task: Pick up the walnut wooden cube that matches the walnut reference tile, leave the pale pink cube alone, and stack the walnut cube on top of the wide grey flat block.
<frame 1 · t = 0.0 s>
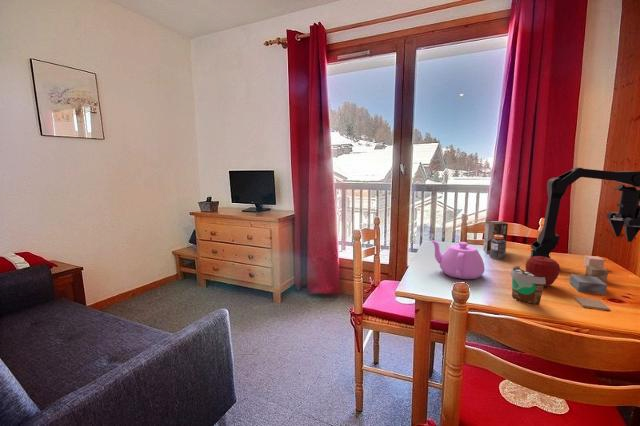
hand: (623, 239, 127), 15 cm above the table, tool pointing down, fingers open, 9 cm apart
coffee box: (493, 252, 159), on the table
pill bottle: (496, 258, 150), on the table
pink pot: (455, 273, 130), on the table
reference tile: (591, 304, 101), on the table
apple: (540, 285, 117), on the table
pale pink cube: (592, 268, 135), on the table
grey flat block: (586, 289, 113), on the table
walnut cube: (595, 279, 122), on the table
food container: (520, 299, 105), on the table
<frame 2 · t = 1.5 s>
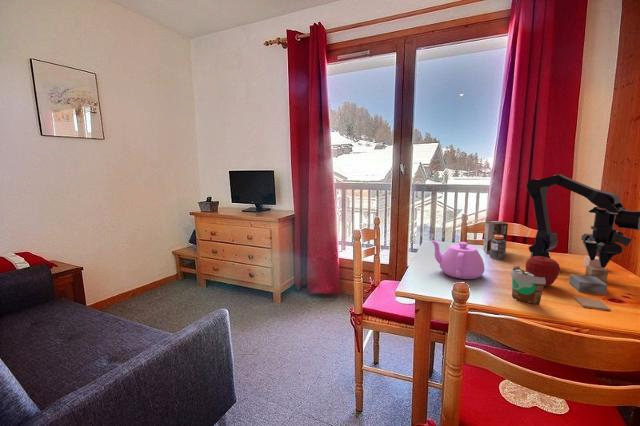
hand: (597, 263, 121), 7 cm above the table, tool pointing down, fingers open, 9 cm apart
nothing on the table moved.
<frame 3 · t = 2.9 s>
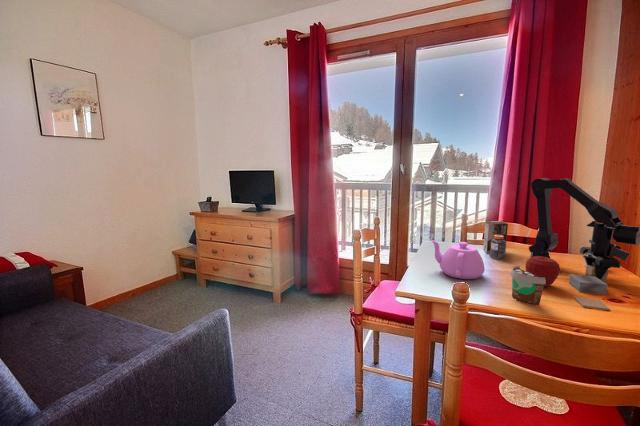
hand: (595, 277, 122), 1 cm above the table, tool pointing down, fingers closed on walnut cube, 5 cm apart
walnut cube: (595, 279, 122), on the table, touching gripper
everything else where it was.
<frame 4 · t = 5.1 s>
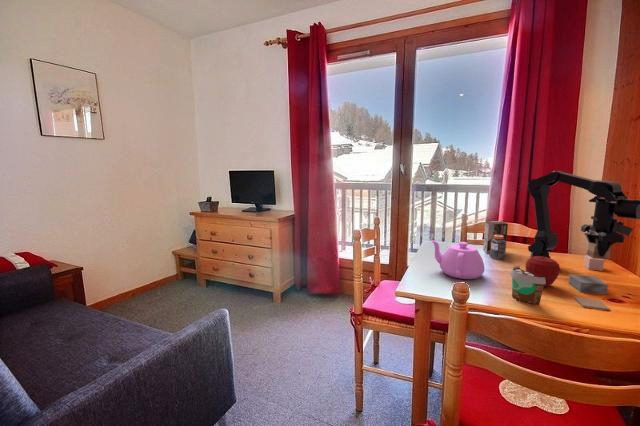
hand: (598, 254, 118), 11 cm above the table, tool pointing down, fingers closed on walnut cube, 5 cm apart
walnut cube: (597, 257, 118), point 10 cm above the table, touching gripper
everything else where it was.
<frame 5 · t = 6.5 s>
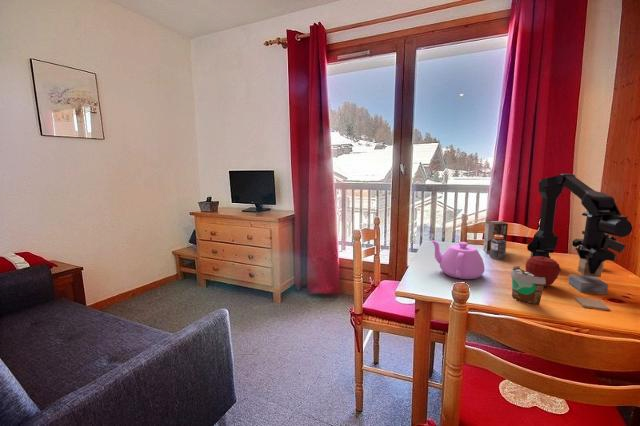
hand: (589, 271, 112), 7 cm above the table, tool pointing down, fingers closed on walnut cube, 5 cm apart
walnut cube: (588, 273, 112), point 6 cm above the table, touching gripper
everything else where it was.
when the fingers open (6 cm above the table, at t = 7.3 s): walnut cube drops 2 cm, resting on grey flat block.
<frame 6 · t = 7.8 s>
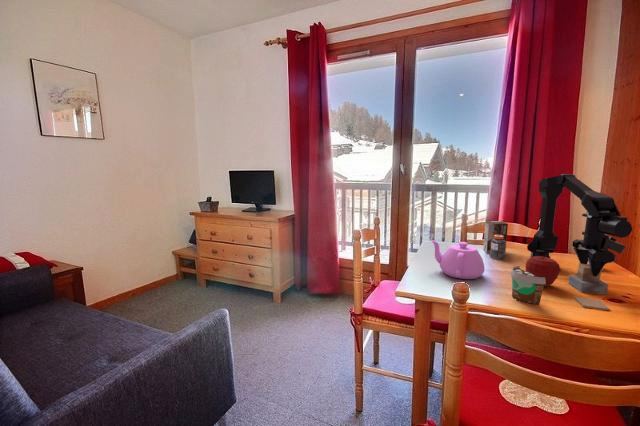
hand: (589, 271, 112), 6 cm above the table, tool pointing down, fingers open, 9 cm apart
grey flat block: (586, 289, 113), on the table, touching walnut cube
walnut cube: (587, 279, 113), point 4 cm above the table, touching grey flat block
everything else where it was.
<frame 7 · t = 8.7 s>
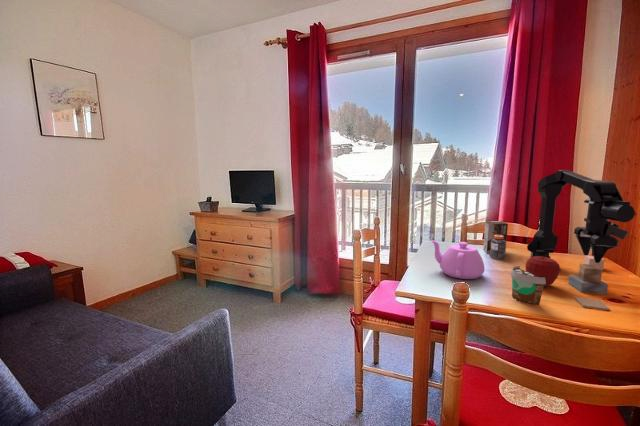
hand: (591, 258, 111), 12 cm above the table, tool pointing down, fingers open, 9 cm apart
grey flat block: (586, 289, 113), on the table
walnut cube: (588, 279, 112), point 4 cm above the table
everything else where it was.
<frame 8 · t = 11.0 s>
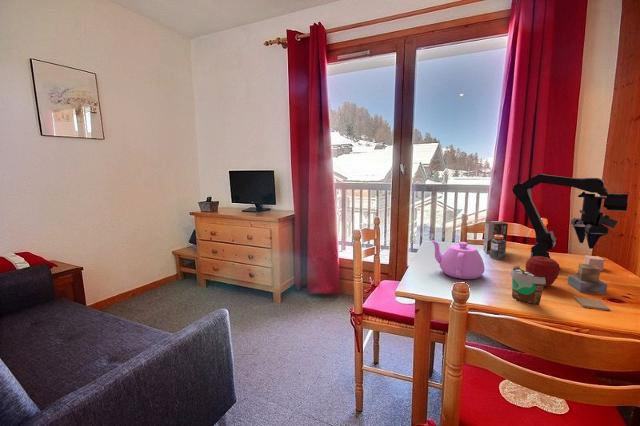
hand: (585, 245, 127), 12 cm above the table, tool pointing down, fingers open, 9 cm apart
grey flat block: (585, 289, 113), on the table, touching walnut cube
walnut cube: (587, 279, 113), point 4 cm above the table, touching grey flat block
everything else where it was.
at the end: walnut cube 0.3 cm off-centre on the grey flat block, point 4.1 cm above the grey flat block's base; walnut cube tilted 1°; the gripper is holding nothing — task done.
